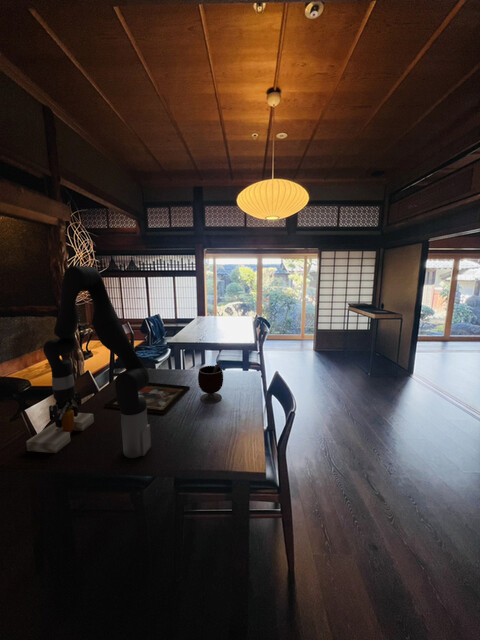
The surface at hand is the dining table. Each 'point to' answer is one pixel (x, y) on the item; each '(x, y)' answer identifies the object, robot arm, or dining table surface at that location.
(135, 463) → the dining table surface
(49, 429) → the notched board
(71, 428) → the carrot
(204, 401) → the mate gourd
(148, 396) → the framed painting
